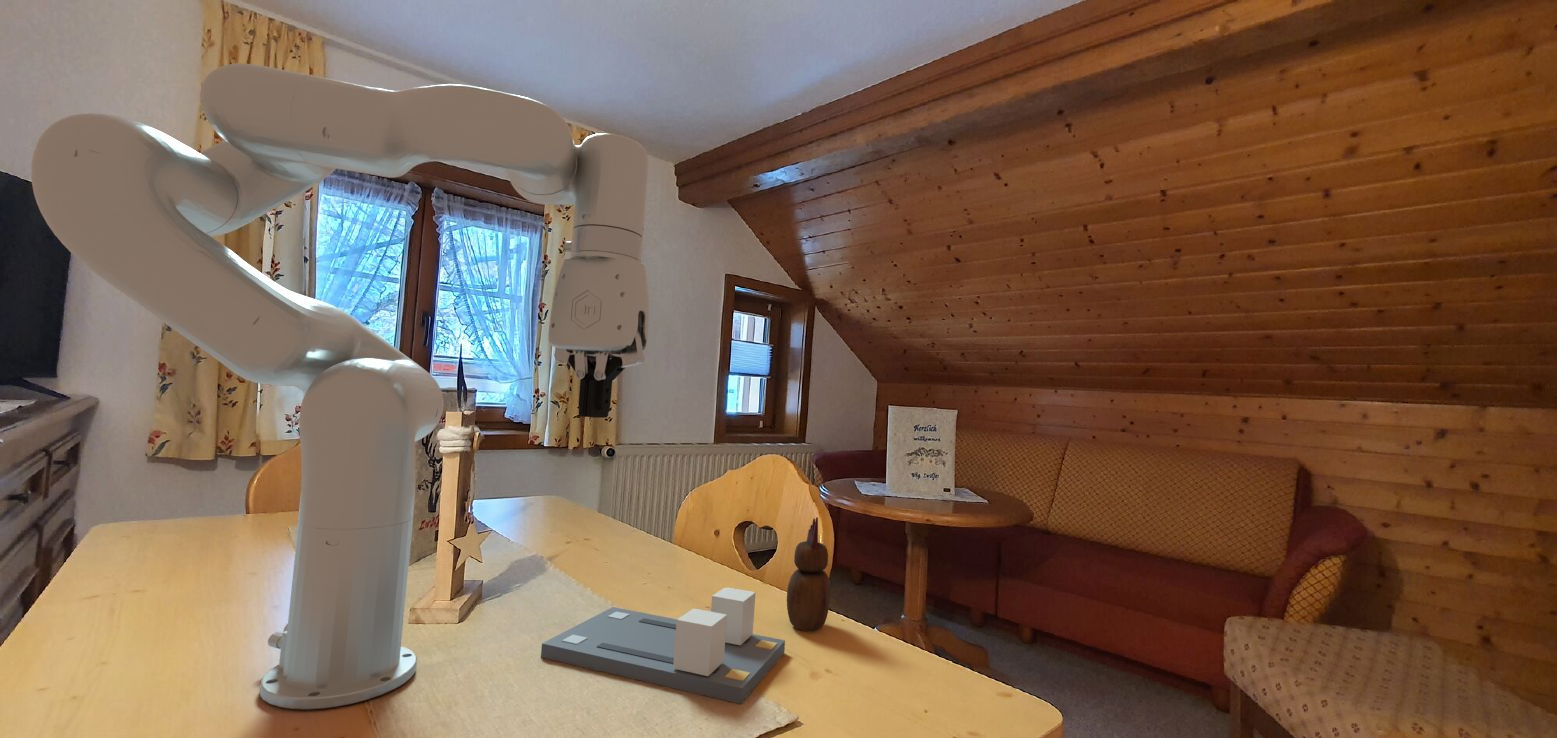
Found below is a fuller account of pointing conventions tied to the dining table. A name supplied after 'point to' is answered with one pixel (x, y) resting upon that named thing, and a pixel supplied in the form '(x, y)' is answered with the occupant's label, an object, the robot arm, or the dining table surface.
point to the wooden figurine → (809, 584)
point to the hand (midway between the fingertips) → (593, 416)
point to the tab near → (700, 641)
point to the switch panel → (660, 654)
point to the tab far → (735, 613)
